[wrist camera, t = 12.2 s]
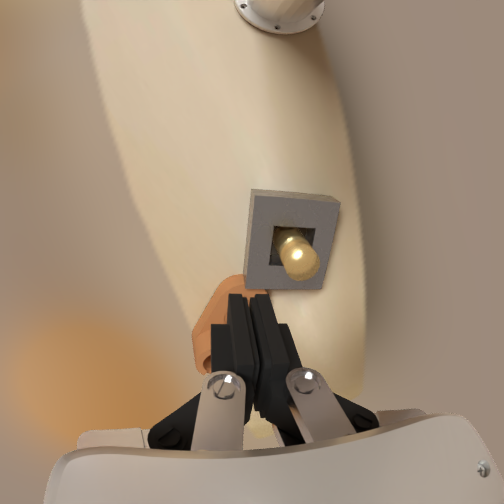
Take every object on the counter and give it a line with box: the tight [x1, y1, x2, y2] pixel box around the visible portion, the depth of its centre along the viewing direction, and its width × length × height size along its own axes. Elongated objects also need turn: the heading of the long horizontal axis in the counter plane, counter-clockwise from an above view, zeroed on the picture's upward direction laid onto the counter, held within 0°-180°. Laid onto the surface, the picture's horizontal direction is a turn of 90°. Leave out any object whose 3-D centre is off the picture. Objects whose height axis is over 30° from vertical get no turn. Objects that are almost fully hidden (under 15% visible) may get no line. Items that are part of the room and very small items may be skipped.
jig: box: [243, 189, 340, 289], centre depth 41 cm, size 14×12×4 cm
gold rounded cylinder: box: [272, 226, 320, 281], centre depth 39 cm, size 4×4×9 cm
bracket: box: [192, 274, 267, 375], centre depth 46 cm, size 18×8×7 cm, turn 150°
